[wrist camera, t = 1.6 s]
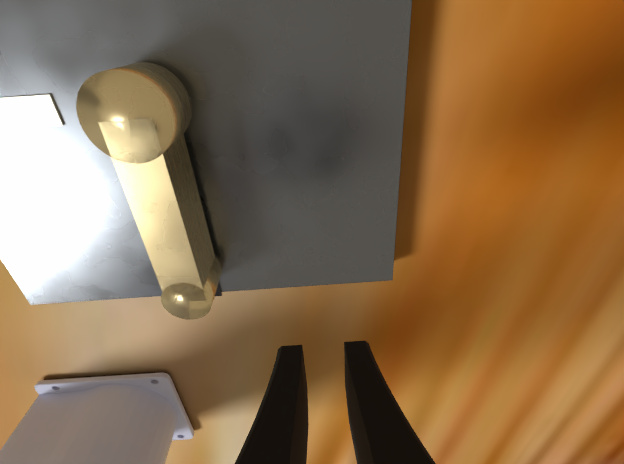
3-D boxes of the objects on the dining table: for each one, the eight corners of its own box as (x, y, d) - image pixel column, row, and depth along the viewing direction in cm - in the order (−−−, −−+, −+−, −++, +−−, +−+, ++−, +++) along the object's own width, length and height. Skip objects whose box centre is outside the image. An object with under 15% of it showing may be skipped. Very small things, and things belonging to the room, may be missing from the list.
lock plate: (49, 289, 21) (31, 308, 19) (-269, -242, 10) (-358, -283, 9) (386, 266, 20) (392, 284, 19) (418, -302, 10) (438, -354, 9)
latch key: (99, 65, 13) (59, 73, 11) (180, 58, 13) (156, 66, 11) (176, 286, 18) (160, 321, 16) (233, 282, 18) (224, 317, 16)
